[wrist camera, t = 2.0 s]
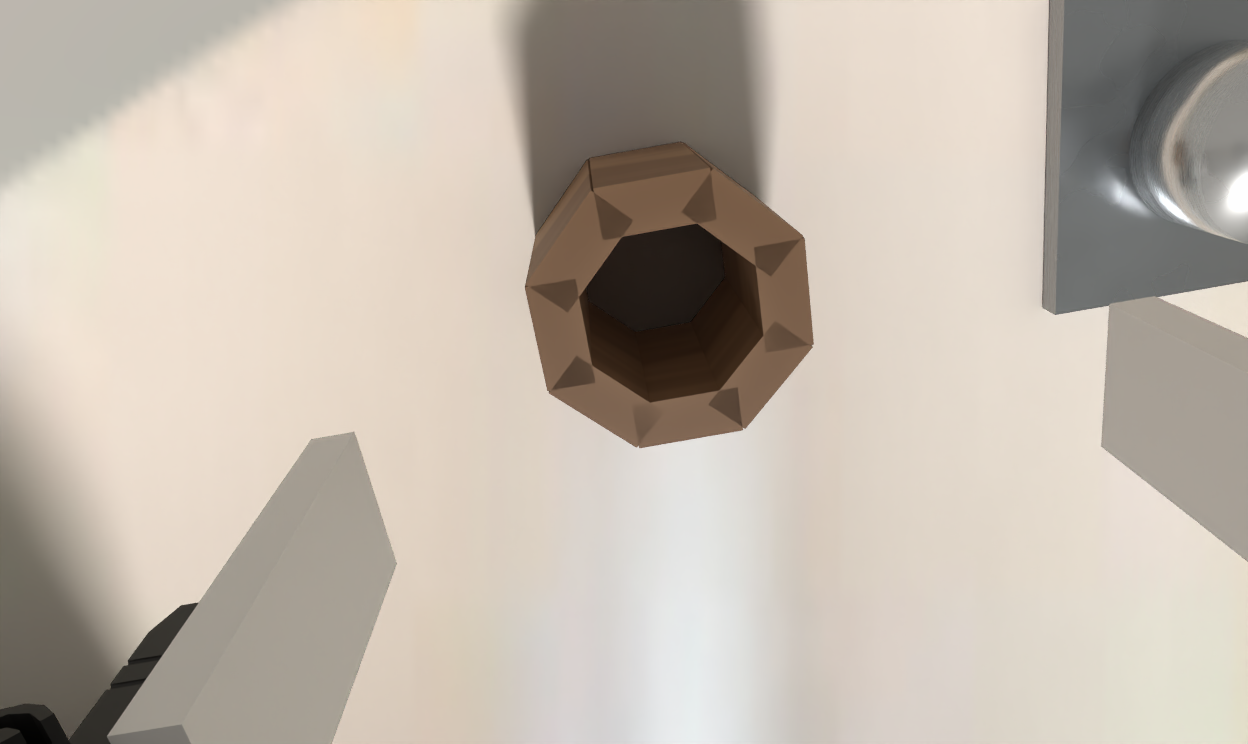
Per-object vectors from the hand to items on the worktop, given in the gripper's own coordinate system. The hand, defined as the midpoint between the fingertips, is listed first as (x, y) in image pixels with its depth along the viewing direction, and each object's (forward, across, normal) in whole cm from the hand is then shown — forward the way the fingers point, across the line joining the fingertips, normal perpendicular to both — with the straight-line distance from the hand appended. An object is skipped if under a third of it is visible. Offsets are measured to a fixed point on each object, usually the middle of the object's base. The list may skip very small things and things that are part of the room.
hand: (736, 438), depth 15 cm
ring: (+14, 0, 0) cm, 14 cm away
